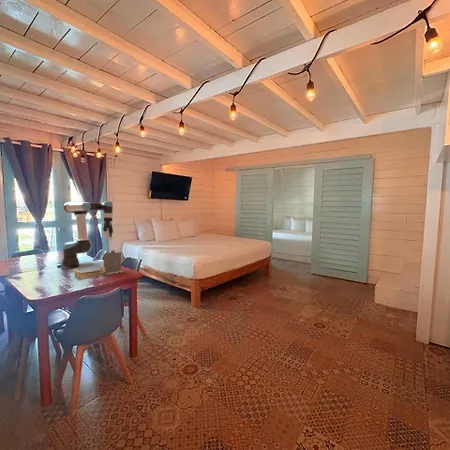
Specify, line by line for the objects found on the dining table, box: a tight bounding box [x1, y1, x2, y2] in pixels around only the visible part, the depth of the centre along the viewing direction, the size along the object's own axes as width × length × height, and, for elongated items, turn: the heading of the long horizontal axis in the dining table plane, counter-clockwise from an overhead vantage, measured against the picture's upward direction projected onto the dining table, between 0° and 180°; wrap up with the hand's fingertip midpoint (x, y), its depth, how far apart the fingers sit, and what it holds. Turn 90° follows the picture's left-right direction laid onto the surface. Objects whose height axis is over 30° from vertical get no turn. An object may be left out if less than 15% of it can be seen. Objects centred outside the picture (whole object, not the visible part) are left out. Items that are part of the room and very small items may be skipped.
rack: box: [74, 265, 106, 280], centre depth 212 cm, size 10×22×6 cm, turn 135°
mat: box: [106, 269, 124, 275], centre depth 225 cm, size 12×15×1 cm
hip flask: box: [103, 249, 122, 273], centre depth 225 cm, size 16×4×20 cm, turn 136°
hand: (107, 238), depth 233 cm, fingers open, 13 cm apart
